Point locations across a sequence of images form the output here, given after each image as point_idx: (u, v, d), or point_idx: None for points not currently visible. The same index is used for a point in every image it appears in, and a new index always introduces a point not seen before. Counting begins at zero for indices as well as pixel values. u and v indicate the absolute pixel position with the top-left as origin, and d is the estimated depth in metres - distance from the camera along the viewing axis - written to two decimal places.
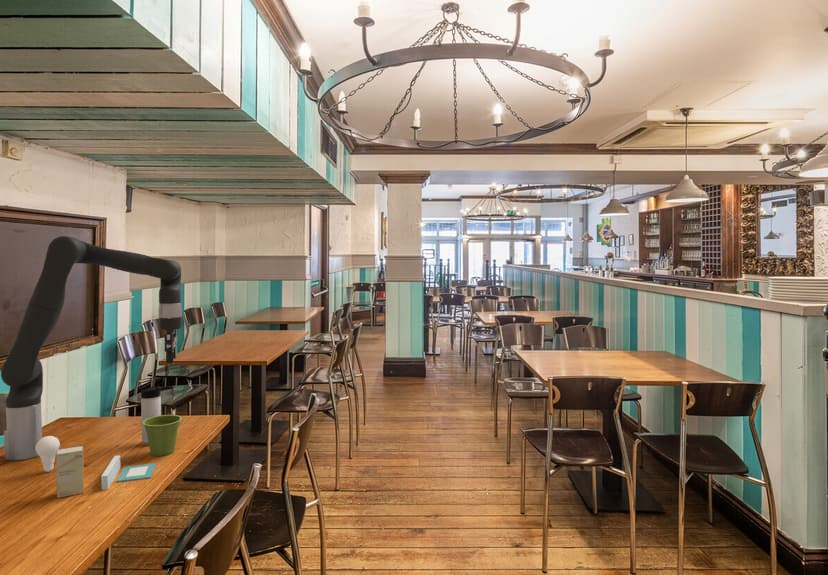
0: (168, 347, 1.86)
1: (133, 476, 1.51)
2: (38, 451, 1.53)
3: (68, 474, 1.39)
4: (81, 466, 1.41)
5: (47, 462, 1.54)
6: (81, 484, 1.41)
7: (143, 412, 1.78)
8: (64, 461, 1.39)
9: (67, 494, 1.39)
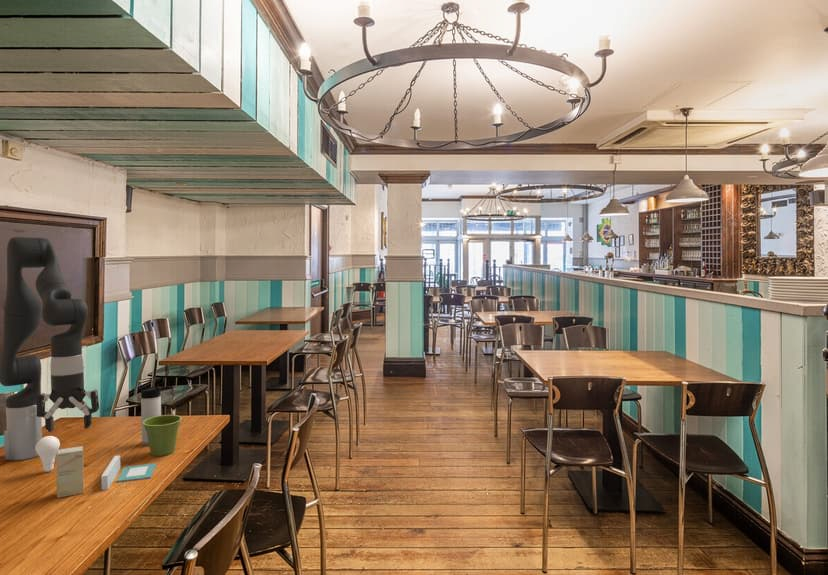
0: (47, 417, 1.38)
1: (133, 476, 1.51)
2: (38, 451, 1.53)
3: (68, 474, 1.39)
4: (81, 466, 1.41)
5: (47, 462, 1.54)
6: (81, 484, 1.41)
7: (143, 412, 1.78)
8: (64, 461, 1.39)
9: (67, 494, 1.39)
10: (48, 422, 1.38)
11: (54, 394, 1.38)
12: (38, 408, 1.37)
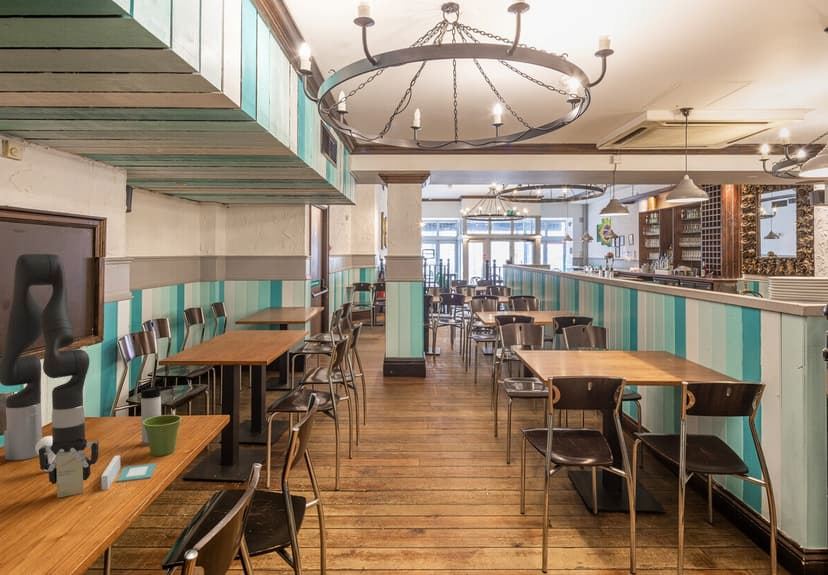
0: (50, 470, 1.38)
1: (133, 476, 1.51)
2: (38, 451, 1.53)
3: (68, 473, 1.39)
4: (81, 466, 1.41)
5: None
6: (81, 484, 1.41)
7: (143, 412, 1.78)
8: (64, 461, 1.38)
9: (67, 494, 1.39)
10: (51, 475, 1.39)
11: (55, 445, 1.39)
12: (41, 461, 1.38)
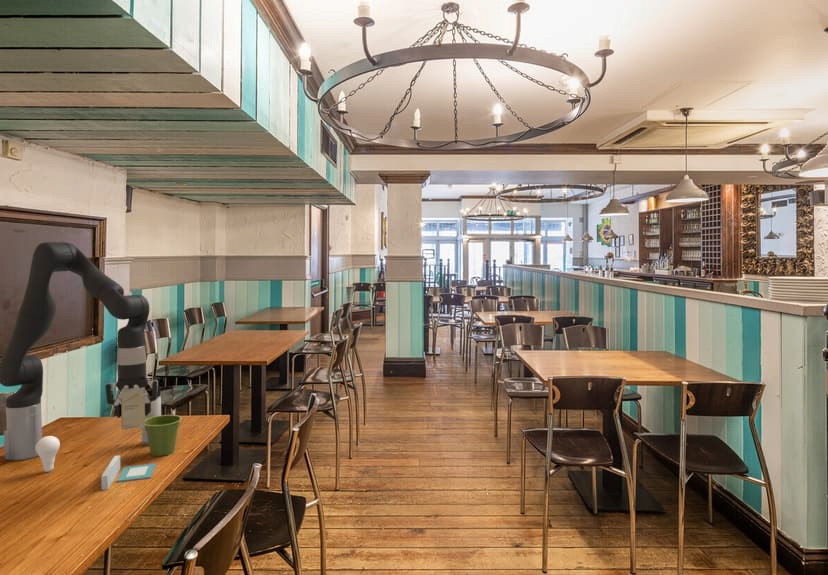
0: (116, 404, 1.50)
1: (133, 476, 1.51)
2: (38, 451, 1.53)
3: (131, 408, 1.51)
4: (143, 402, 1.53)
5: (47, 462, 1.54)
6: (143, 419, 1.53)
7: None
8: (128, 396, 1.50)
9: (131, 427, 1.51)
10: (117, 409, 1.51)
11: (120, 382, 1.51)
12: (108, 396, 1.50)
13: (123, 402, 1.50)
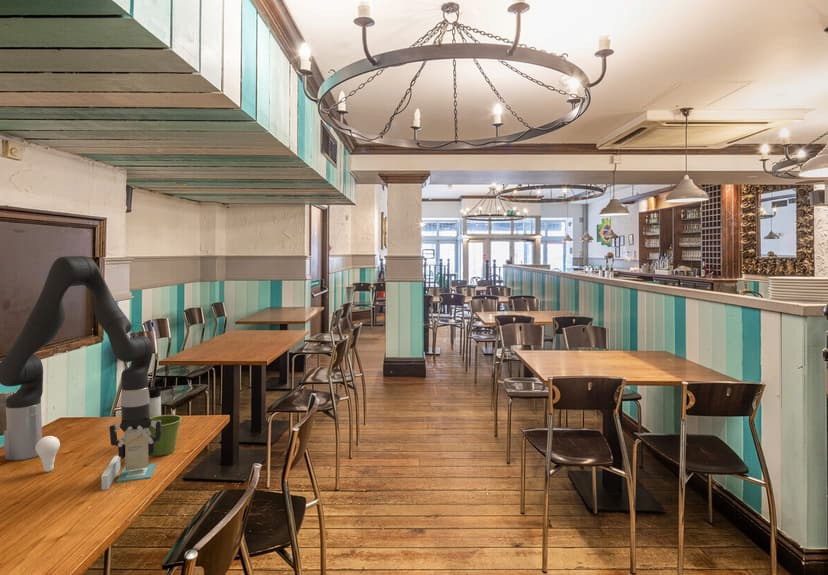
0: (120, 445, 1.52)
1: (133, 476, 1.51)
2: (38, 451, 1.53)
3: (135, 449, 1.52)
4: (147, 442, 1.54)
5: (47, 462, 1.54)
6: (147, 459, 1.54)
7: None
8: (132, 437, 1.52)
9: (135, 468, 1.52)
10: (120, 450, 1.52)
11: (124, 423, 1.52)
12: (111, 437, 1.51)
13: (127, 443, 1.51)
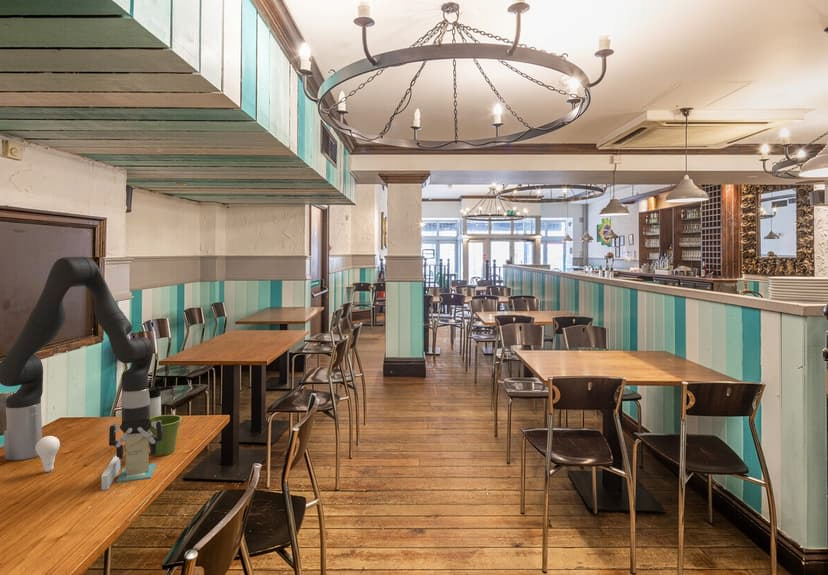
0: (118, 446, 1.52)
1: (133, 476, 1.51)
2: (38, 451, 1.53)
3: (135, 453, 1.52)
4: (147, 447, 1.54)
5: (47, 462, 1.54)
6: (147, 464, 1.54)
7: None
8: (132, 442, 1.52)
9: (135, 472, 1.52)
10: (118, 450, 1.52)
11: (124, 425, 1.52)
12: (110, 438, 1.51)
13: (127, 448, 1.51)
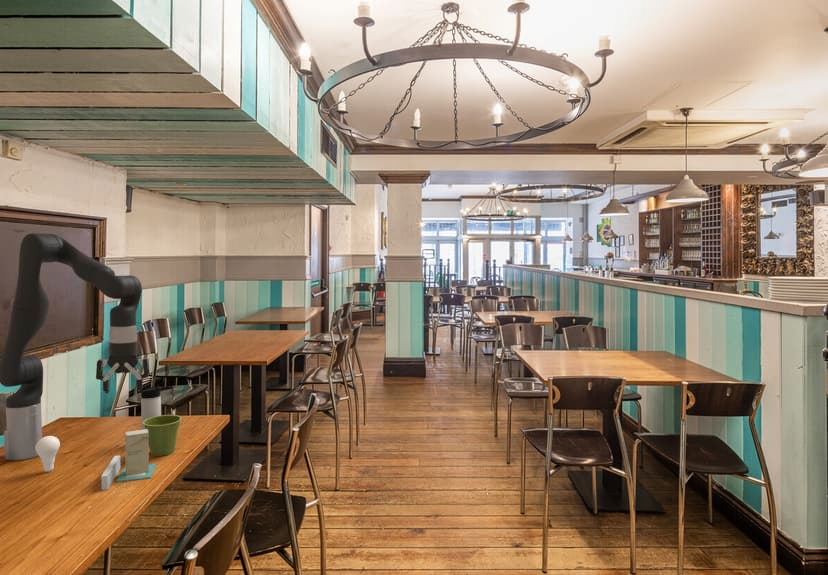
0: (104, 380, 1.55)
1: (133, 476, 1.51)
2: (38, 451, 1.53)
3: (135, 453, 1.52)
4: (147, 447, 1.54)
5: (47, 462, 1.54)
6: (147, 464, 1.54)
7: (143, 412, 1.78)
8: (132, 442, 1.52)
9: (135, 472, 1.52)
10: (105, 385, 1.55)
11: (111, 360, 1.55)
12: (97, 371, 1.54)
13: (127, 448, 1.51)
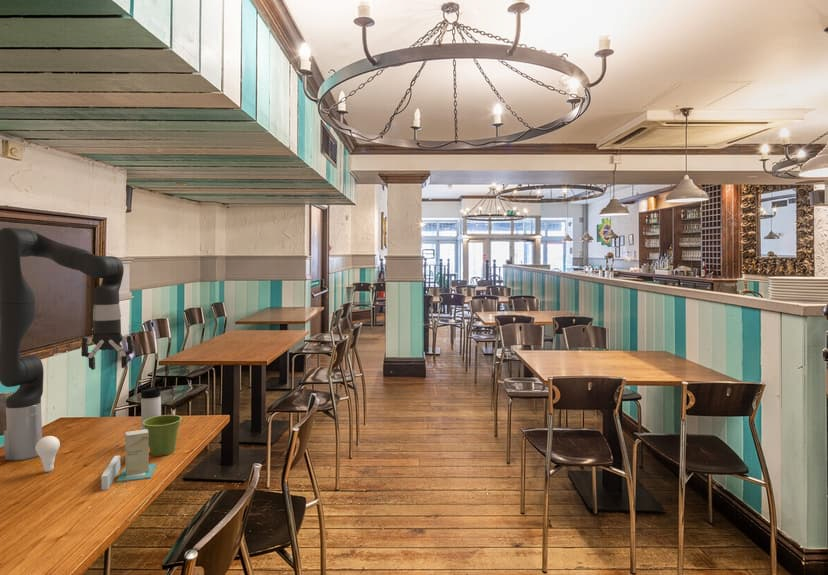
0: (90, 357, 1.60)
1: (133, 476, 1.51)
2: (38, 451, 1.53)
3: (135, 453, 1.52)
4: (147, 447, 1.54)
5: (47, 462, 1.54)
6: (147, 464, 1.54)
7: (143, 412, 1.78)
8: (132, 442, 1.52)
9: (135, 472, 1.52)
10: (91, 361, 1.61)
11: (96, 337, 1.61)
12: (83, 349, 1.60)
13: (127, 448, 1.51)
